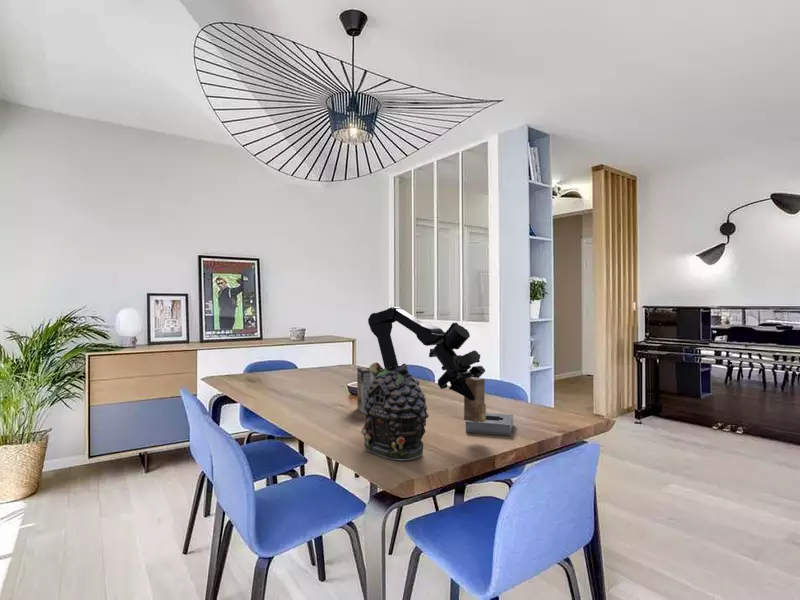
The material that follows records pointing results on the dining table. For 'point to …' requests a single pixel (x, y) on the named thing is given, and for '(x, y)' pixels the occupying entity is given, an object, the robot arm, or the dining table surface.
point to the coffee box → (362, 387)
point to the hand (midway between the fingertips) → (478, 398)
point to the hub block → (492, 425)
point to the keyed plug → (475, 400)
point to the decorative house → (394, 413)
